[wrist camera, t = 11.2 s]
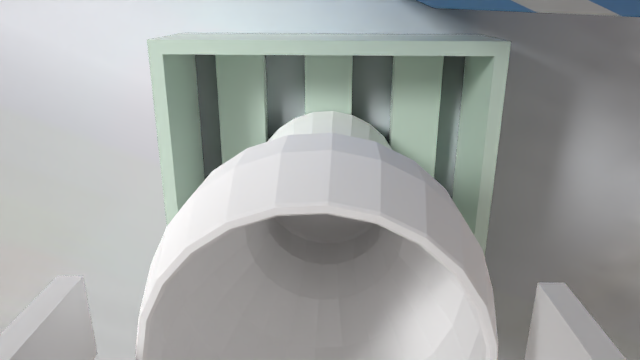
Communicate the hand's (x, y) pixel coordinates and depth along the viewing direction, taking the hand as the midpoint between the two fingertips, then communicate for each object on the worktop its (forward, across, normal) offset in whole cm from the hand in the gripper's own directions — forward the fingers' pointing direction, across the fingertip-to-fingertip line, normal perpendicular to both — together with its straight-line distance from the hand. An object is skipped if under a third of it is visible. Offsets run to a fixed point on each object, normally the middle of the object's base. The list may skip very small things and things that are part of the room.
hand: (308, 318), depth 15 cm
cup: (+13, 0, -1) cm, 13 cm away
